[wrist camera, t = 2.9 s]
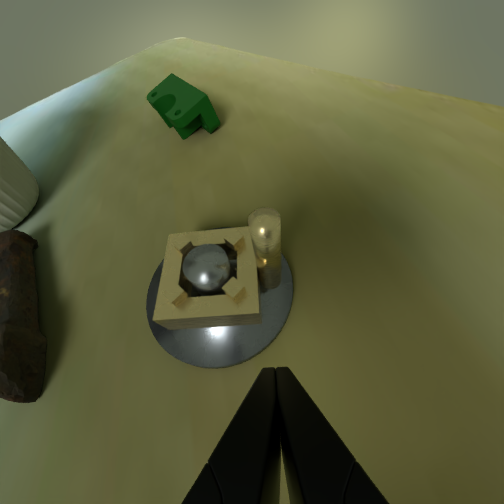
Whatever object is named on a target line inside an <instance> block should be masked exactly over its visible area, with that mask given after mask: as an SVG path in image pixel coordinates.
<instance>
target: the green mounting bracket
mask: <svg viewBox="0 0 504 504" xmlns="http://www.w3.org/2000/svg"><path fill="white" fill-rule="evenodd" d="M147 100H148V101H149V103H150V104H151V105H152V107H153V108H154V109H155V110H156V111H157V112H158V113H159V114H160V116H161V117H162V119H163V120H164V121H165V123H166V124H167V125H168V127H169V128H171V127H172V126H173V127H174V128H175V129H176V131H177V132H178V134H179V135H180V136H181V138H182V139H183V140H184V139H186V138H187V137H188V136H190V135H191V134H192V133H193V132H194V131H195V130H196V129H197V128H199V127H200V126H201V127H202V128H203V129H205V130H206V131H207V132H209V133H210V134H211V133H212V132H213V131H214V130H215V129H216V128H218V127H219V126H220V125H221V124H220V121H219V119H218V117H217V115H216V113H215V111H214V108H213V106H212V104H211V102H210V100H209V98H208V96H207V94H205V93H203V92H202V91H200V90H198V89H197V88H195V87H193V86H192V85H190V84H189V83H187V82H185V81H184V80H182V79H180V78H179V77H177V76H175V75H174V74H172V73H171V74H170V75H169V76H168V77H167V78H166V79H164V80H163V81H162V82H161V83H160V84H159V85H158V86H156V87H155V88H154V89H153V90H152V91H151V92H150V93H149V94H148V95H147Z"/></svg>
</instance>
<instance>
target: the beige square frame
mask: <svg viewBox="0 0 504 504" xmlns="http://www.w3.org/2000/svg"><path fill="white" fill-rule="evenodd" d="M248 225H249V226H246V227H236V228H226V229H216V230H206V231H196V232H186V233H176V234H169V237H168V242H167V248H166V253H165V258H164V263H163V268H162V274H161V279H160V284H159V289H158V294H157V300H156V305H155V310H154V315H153V321H154V322H156V323H158V324H160V325H161V326H163V327H165V328H166V329H168V330H178V329H194V328H209V327H224V326H239V325H254V324H262V311H261V293H260V283H261V285H262V286H263V287H264V288H266V289H275V288H277V287H278V286H279V285H280V284H281V280H282V274H281V217H280V215H279V213H278V212H277V211H276V210H274V209H272V208H268V207H263V208H259V209H256V210H254V211H253V212H252V213H251V214H250V215H249V218H248ZM203 244H215V245H218V246H220V247H221V248H222V249H223V250H224V251H225V253H226V255H227V257H228V260H237V279H235V278H234V277H232V278H231V279H230V280H229V281H228V282H227V283H226V284H225V285H224V286H223V287H222V290H223V291H224V293H225V294H226V295H214V296H201V297H191V291H192V284H191V283H190V281H189V280H188V279H187V278H186V276H185V275H184V272H183V262H184V259H185V257H186V256H187V254H188V253H189V252H190V251H191V250H192V249H194V248H195V247H197V246H199V245H203Z"/></svg>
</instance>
